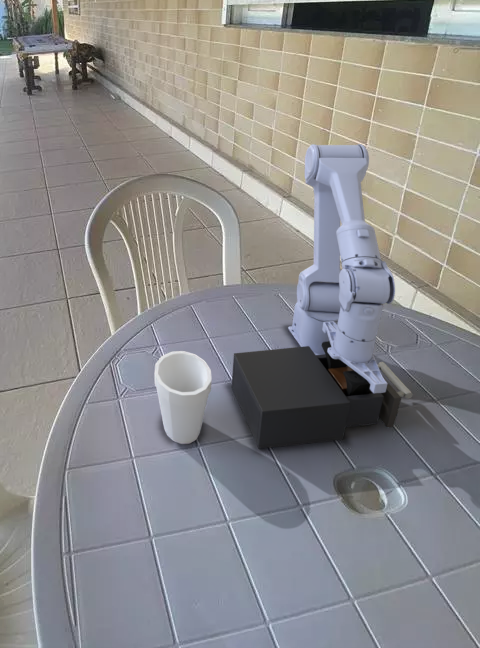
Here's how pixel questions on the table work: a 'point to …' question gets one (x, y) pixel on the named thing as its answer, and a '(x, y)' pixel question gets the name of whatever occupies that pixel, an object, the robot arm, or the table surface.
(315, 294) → the robot arm
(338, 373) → the block
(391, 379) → the sliding drawer
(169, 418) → the foam cup
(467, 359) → the table surface
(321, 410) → the black drawer box
